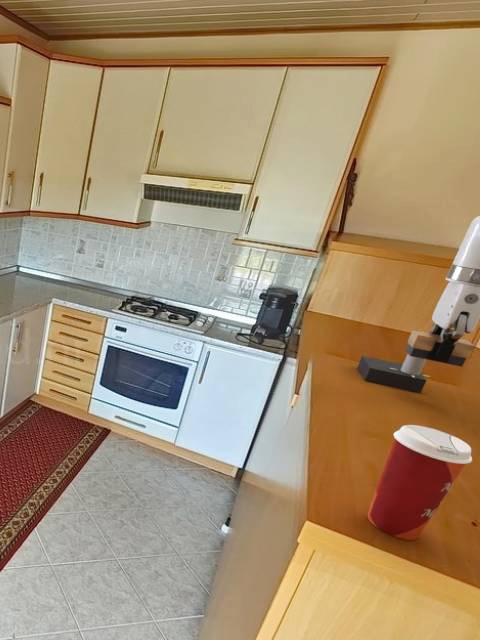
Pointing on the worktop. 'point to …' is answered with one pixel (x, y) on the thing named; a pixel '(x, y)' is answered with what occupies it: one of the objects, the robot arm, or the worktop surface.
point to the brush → (424, 343)
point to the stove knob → (413, 365)
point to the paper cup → (416, 479)
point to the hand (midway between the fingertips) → (434, 356)
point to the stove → (389, 374)
